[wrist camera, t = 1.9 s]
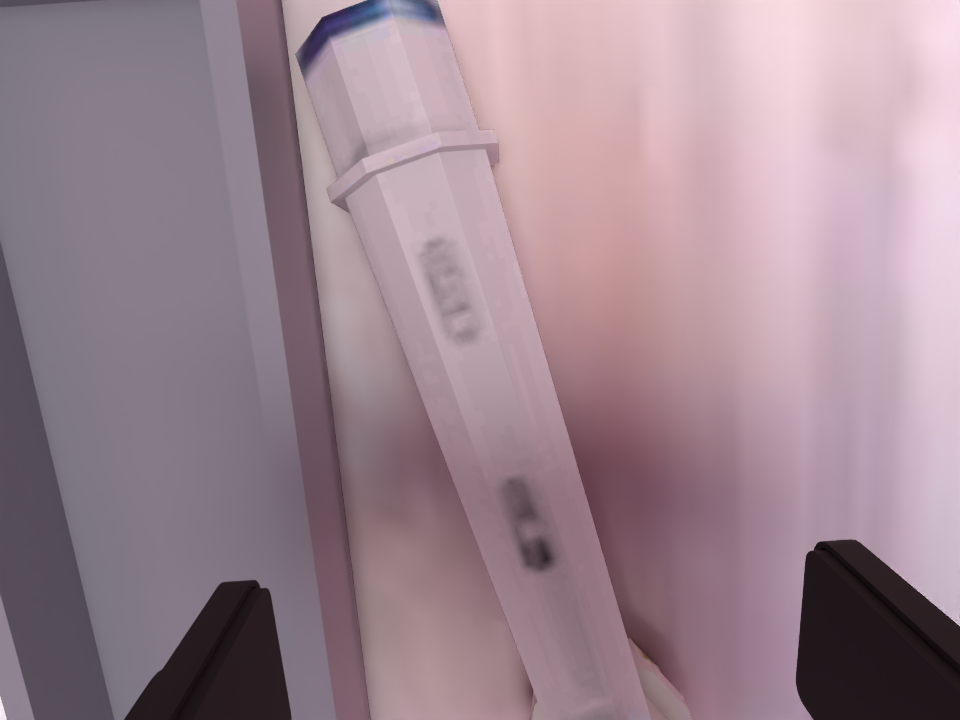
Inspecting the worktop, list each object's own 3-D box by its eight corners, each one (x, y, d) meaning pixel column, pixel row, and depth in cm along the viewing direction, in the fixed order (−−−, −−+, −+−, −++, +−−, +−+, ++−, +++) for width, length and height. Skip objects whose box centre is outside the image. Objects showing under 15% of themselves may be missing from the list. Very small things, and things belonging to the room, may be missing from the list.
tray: (384, 833, 22) (366, 941, 19) (135, 845, 23) (74, 954, 19) (276, -37, 16) (221, -108, 13) (-72, -11, 16) (-220, -75, 13)
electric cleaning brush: (463, -47, 13) (785, 967, 14) (478, 75, 19) (698, 759, 21) (240, 39, 13) (581, 1015, 15) (330, 129, 20) (558, 796, 21)
